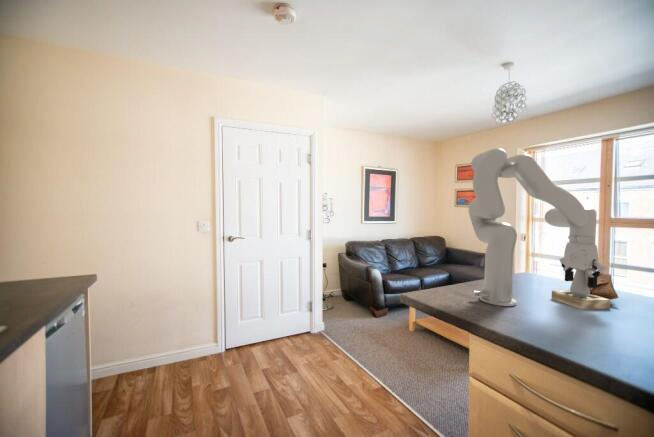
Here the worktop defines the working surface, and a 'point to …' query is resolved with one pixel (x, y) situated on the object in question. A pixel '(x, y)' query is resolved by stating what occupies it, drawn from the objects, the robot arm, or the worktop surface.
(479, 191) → the robot arm
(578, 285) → the salt shaker
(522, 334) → the worktop surface
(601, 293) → the sunglasses case
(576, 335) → the worktop surface
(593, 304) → the square wooden tray
